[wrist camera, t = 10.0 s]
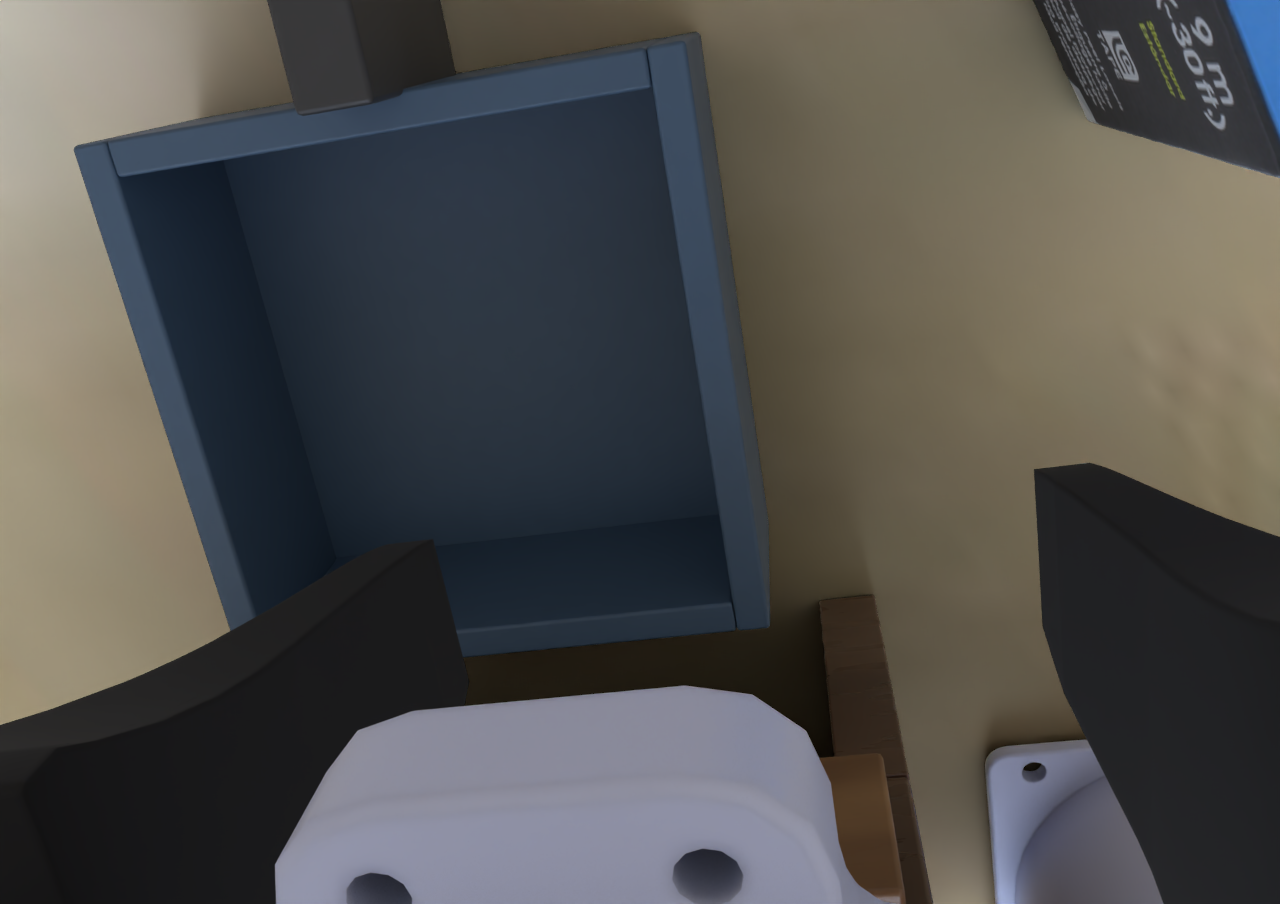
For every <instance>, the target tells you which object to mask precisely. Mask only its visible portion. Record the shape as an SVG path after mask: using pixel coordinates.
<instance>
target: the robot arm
mask: <svg viewBox="0 0 1280 904" xmlns="http://www.w3.org/2000/svg"><path fill="white" fill-rule="evenodd" d="M1034 478H1035V496H1036V515H1037V533H1038V551H1039V569H1040V587H1041V606H1042V624H1043V629H1044V632H1045V635H1046V639H1047V642H1048V645H1049V648H1050V652H1051V655H1052V658H1053V661H1054V664H1055V667H1056V670H1057V673H1058V676H1059V679H1060V682H1061V685H1062V688H1063V691H1064V694H1065V696H1066V698H1067V700H1068V702H1069V704H1070V706H1071V709H1072V711H1073V713H1074V715H1075V717H1076V719H1077V721H1078V723H1079V725H1080V727H1081V729H1082V731H1083V733H1084V735H1085V737H1086V739H1085V740H1072V741H1060V742H1048V743H1036V744H1024V745H1012V746H1004V747H1000V748H997V749H995V750H994V751H992V752H991V753H990V754H989V756H988V757H987V759H986V762H985V775H986V788H987V800H988V813H989V826H990V839H991V852H992V864H993V877H994V890H995V903H996V904H1280V537H1278V536H1275V535H1272V534H1269V533H1266V532H1263V531H1260V530H1258V529H1255V528H1252V527H1249V526H1246V525H1243V524H1241V523H1238V522H1235V521H1232V520H1229V519H1227V518H1224V517H1222V516H1219V515H1216V514H1214V513H1211V512H1209V511H1206V510H1204V509H1201V508H1199V507H1196V506H1194V505H1192V504H1189V503H1187V502H1185V501H1182V500H1180V499H1178V498H1175V497H1173V496H1171V495H1168V494H1166V493H1164V492H1161V491H1159V490H1157V489H1155V488H1152V487H1150V486H1148V485H1146V484H1143V483H1141V482H1139V481H1137V480H1134V479H1132V478H1130V477H1127V476H1125V475H1123V474H1120V473H1118V472H1116V471H1113V470H1111V469H1108V468H1105V467H1102V466H1099V465H1096V464H1092V463H1085V464H1077V465H1068V466H1059V467H1051V468H1042V469H1034ZM468 685H469V679H468V675H467V671H466V667H465V663H464V659H463V655H462V651H461V647H460V643H459V639H458V636H457V632H456V628H455V624H454V620H453V616H452V612H451V608H450V604H449V600H448V596H447V592H446V588H445V584H444V580H443V576H442V572H441V568H440V564H439V560H438V556H437V553H436V549H435V545H434V541H433V539H429V540H420V541H411V542H403V543H394V544H386V545H383V546H381V547H378V548H375V549H373V550H371V551H368V552H366V553H364V554H363V555H361V556H359V557H357V558H355V559H353V560H351V561H349V562H348V563H346V564H344V565H343V566H341V567H339V568H337V569H336V570H334V571H332V572H331V573H329V574H327V575H326V576H324V577H322V578H321V579H319V580H317V581H316V582H314V583H312V584H311V585H309V586H307V587H306V588H304V589H302V590H301V591H299V592H297V593H296V594H294V595H292V596H291V597H289V598H288V599H286V600H284V601H283V602H281V603H279V604H278V605H276V606H274V607H273V608H271V609H269V610H267V611H265V612H264V613H262V614H260V615H258V616H257V617H255V618H253V619H251V620H249V621H248V622H246V623H244V624H242V625H241V626H239V627H237V628H235V629H233V630H232V631H230V632H228V633H226V634H224V635H223V636H221V637H219V638H217V639H216V640H214V641H212V642H210V643H208V644H206V645H204V646H202V647H200V648H198V649H196V650H194V651H192V652H190V653H188V654H186V655H184V656H182V657H180V658H178V659H176V660H174V661H171V662H169V663H167V664H165V665H163V666H160V667H158V668H156V669H154V670H151V671H149V672H147V673H145V674H143V675H140V676H138V677H136V678H133V679H131V680H128V681H126V682H124V683H121V684H118V685H116V686H113V687H110V688H107V689H105V690H102V691H99V692H97V693H94V694H91V695H88V696H86V697H83V698H80V699H78V700H75V701H72V702H70V703H67V704H64V705H61V706H59V707H56V708H53V709H50V710H47V711H44V712H41V713H38V714H35V715H31V716H28V717H25V718H22V719H18V720H15V721H12V722H9V723H5V724H2V725H0V904H895V903H890V902H885V901H882V900H880V899H878V898H876V897H875V896H873V895H872V894H871V893H869V892H868V891H866V890H865V889H863V888H862V887H861V886H859V885H858V884H857V883H856V882H855V880H854V878H853V877H852V875H851V874H850V872H849V871H848V869H847V868H846V865H845V861H844V858H843V855H842V851H841V848H840V845H839V841H838V833H837V826H836V818H835V811H834V803H833V796H832V788H831V782H830V780H829V778H828V776H827V774H826V772H825V770H824V767H823V765H822V763H821V761H820V759H819V757H818V755H817V753H816V751H815V748H814V746H813V744H812V742H811V740H810V738H809V736H808V734H807V731H806V730H804V729H803V728H801V727H800V726H798V725H797V724H795V723H794V722H793V721H791V720H790V719H788V718H787V717H785V716H784V715H782V714H781V713H779V712H778V711H776V710H775V709H773V708H772V707H770V706H769V705H767V704H766V703H764V702H763V701H761V700H760V699H758V698H757V697H755V696H754V695H753V694H745V693H738V692H730V691H723V690H715V689H708V688H700V687H693V686H674V687H663V688H653V689H642V690H631V691H620V692H610V693H599V694H588V695H578V696H567V697H556V698H545V699H535V700H524V701H513V702H503V703H492V704H481V705H470V706H464V704H465V700H466V695H467V690H468ZM1033 762H1035V763H1040V764H1042V765H1041V766H1040V767H1039V768H1038V769H1037V770H1034V771H1024V770H1023V768H1024V767H1025V766H1026V765H1027V764H1029V763H1033Z"/></svg>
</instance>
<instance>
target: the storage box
mask: <svg viewBox="0 0 1280 904" xmlns="http://www.w3.org/2000/svg"><path fill="white" fill-rule="evenodd" d="M267 2H268V5H269V9H270V13H271V17H272V21H273V25H274V29H275V32H276V36H277V40H278V44H279V48H280V52H281V56H282V59H283V63H284V67H285V71H286V75H287V79H288V83H289V87H290V90H291V94H292V98H293V102H291V103H286V104H280V105H274V106H269V107H263V108H257V109H251V110H246V111H240V112H234V113H228V114H223V115H217V116H211V117H206V118H200V119H195V120H190V121H186V122H181V123H177V124H172V125H168V126H163V127H158V128H154V129H149V130H145V131H140V132H136V133H131V134H127V135H122V136H118V137H113V138H108V139H104V140H99V141H95V142H90V143H86V144H81V145H77V146H76V147H75V148H74V152H75V155H76V158H77V161H78V164H79V167H80V171H81V174H82V177H83V180H84V183H85V186H86V189H87V192H88V195H89V198H90V201H91V204H92V207H93V210H94V213H95V217H96V220H97V223H98V226H99V229H100V232H101V235H102V238H103V241H104V244H105V247H106V250H107V253H108V256H109V259H110V262H111V266H112V269H113V272H114V275H115V278H116V281H117V284H118V287H119V290H120V293H121V296H122V299H123V302H124V305H125V308H126V312H127V315H128V318H129V321H130V324H131V327H132V330H133V333H134V336H135V339H136V342H137V345H138V348H139V351H140V354H141V358H142V361H143V364H144V367H145V370H146V373H147V376H148V379H149V382H150V385H151V388H152V391H153V394H154V397H155V400H156V403H157V407H158V410H159V413H160V416H161V419H162V422H163V425H164V428H165V431H166V434H167V437H168V440H169V443H170V446H171V449H172V453H173V456H174V459H175V462H176V465H177V468H178V471H179V474H180V477H181V480H182V483H183V486H184V489H185V492H186V495H187V498H188V502H189V505H190V508H191V511H192V514H193V517H194V520H195V523H196V526H197V529H198V532H199V535H200V538H201V541H202V544H203V548H204V551H205V554H206V557H207V560H208V563H209V566H210V569H211V572H212V575H213V578H214V581H215V584H216V587H217V590H218V594H219V597H220V600H221V603H222V606H223V609H224V612H225V615H226V618H227V621H228V624H229V627H230V630H231V631H232V630H233V629H235V628H237V627H239V626H241V625H242V624H244V623H246V622H248V621H249V620H251V619H253V618H255V617H257V616H258V615H260V614H262V613H264V612H265V611H267V610H269V609H271V608H273V607H274V606H276V605H278V604H279V603H281V602H283V601H284V600H286V599H288V598H289V597H291V596H292V595H294V594H296V593H297V592H299V591H301V590H302V589H304V588H306V587H307V586H309V585H311V584H312V583H314V582H316V581H317V580H319V579H321V578H322V577H324V576H326V575H327V574H329V573H331V572H332V571H334V570H336V569H337V568H339V567H341V566H343V565H344V564H346V563H348V562H349V561H351V560H353V559H355V558H357V557H359V556H361V555H363V554H364V553H366V552H368V551H371V550H373V549H375V548H378V547H381V546H383V545H386V544H394V543H403V542H411V541H420V540H429V539H433V541H434V545H435V549H436V553H437V556H438V560H439V564H440V568H441V572H442V576H443V580H444V584H445V588H446V592H447V596H448V600H449V604H450V608H451V612H452V616H453V620H454V624H455V628H456V632H457V636H458V639H459V643H460V647H461V651H462V655H463V658H465V657H475V656H485V655H495V654H506V653H516V652H526V651H536V650H546V649H557V648H567V647H577V646H587V645H598V644H608V643H618V642H628V641H638V640H649V639H659V638H669V637H679V636H689V635H700V634H710V633H720V632H730V631H735V630H736V627H737V628H738V630H751V629H762V628H768V627H769V626H770V582H769V521H768V514H767V507H766V500H765V493H764V486H763V479H762V471H761V464H760V457H759V450H758V443H757V436H756V429H755V421H754V414H753V407H752V400H751V393H750V386H749V379H748V371H747V364H746V357H745V350H744V343H743V336H742V329H741V322H740V314H739V307H738V300H737V293H736V286H735V279H734V272H733V264H732V257H731V250H730V243H729V236H728V229H727V222H726V215H725V207H724V200H723V193H722V186H721V179H720V172H719V165H718V157H717V150H716V143H715V136H714V129H713V122H712V115H711V107H710V100H709V93H708V86H707V79H706V72H705V65H704V58H703V50H702V43H701V36H700V34H699V33H698V32H692V33H687V34H681V35H675V36H669V37H664V38H658V39H652V40H646V41H641V42H635V43H629V44H624V45H618V46H612V47H606V48H601V49H595V50H589V51H583V52H578V53H572V54H566V55H561V56H555V57H549V58H543V59H538V60H532V61H526V62H521V63H515V64H509V65H503V66H498V67H492V68H486V69H480V70H475V71H469V72H463V73H458V74H456V73H455V68H454V63H453V59H452V54H451V49H450V45H449V40H448V35H447V30H446V26H445V21H444V16H443V11H442V7H441V2H440V0H267Z"/></svg>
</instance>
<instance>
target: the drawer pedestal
mask: <svg viewBox="0 0 1280 904" xmlns="http://www.w3.org/2000/svg"><path fill="white" fill-rule="evenodd" d="M819 607H820V617H821V627H822V638H823V648H824V658H825V669H826V679H827V689H828V699H829V710H830V720H831V730H832V741H833V751H834V757H822V758H819V759H820V761H821V763H822V765H823V767H824V770H825V772H826V774H827V776H828V778H829V780H830V782H831V788H832V796H833V803H834V811H835V818H836V826H837V833H838V841H839V845H840V848H841V851H842V855H843V858H844V861H845V865H846V868H847V869H848V871H849V872H850V874H851V875H852V877H853V878H854V880H855V882H856V883H857V884H858V885H859V886H861V887H862V888H863V889H865V890H866V891H868V892H869V893H871V894H872V895H873V896H875V897H876V898H878V899H880V900H882V901H885V902H890V903H895V904H933V901H932V895H931V890H930V885H929V880H928V874H927V869H926V864H925V859H924V853H923V848H922V843H921V838H920V832H919V827H918V822H917V816H916V811H915V806H914V801H913V795H912V790H911V785H910V781H909V773H908V768H907V763H906V758H905V752H904V747H903V742H902V737H901V731H900V726H899V721H898V716H897V710H896V705H895V700H894V695H893V689H892V684H891V679H890V674H889V668H888V663H887V658H886V653H885V647H884V642H883V637H882V632H881V626H880V621H879V616H878V611H877V605H876V600H875V596H874V595H868V596H858V597H848V598H839V599H829V600H821V601H820V602H819Z"/></svg>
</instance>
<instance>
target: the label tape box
mask: <svg viewBox="0 0 1280 904" xmlns="http://www.w3.org/2000/svg"><path fill="white" fill-rule="evenodd" d="M1033 1H1034V3H1035V5H1036V8H1037V10H1038V12H1039V15H1040V17H1041V20H1042V22H1043V24H1044V26H1045V28H1046V30H1047V32H1048V35H1049V37H1050V40H1051V42H1052V44H1053V46H1054V48H1055V50H1056V53H1057V55H1058V58H1059V60H1060V62H1061V64H1062V67H1063V70H1064V71H1065V73H1066V75H1067V77H1068V79H1069V81H1070V83H1071V85H1072V87H1073V90H1074V92H1075V94H1076V96H1077V98H1078V101H1079V103H1080V105H1081V107H1082V109H1083V112H1084V114H1085V116H1086V119H1087V120H1088V121H1090V122H1093V123H1096V124H1099V125H1102V126H1106V127H1109V128H1113V129H1116V130H1119V131H1122V132H1126V133H1129V134H1133V135H1135V136H1140V137H1144V138H1147V139H1150V140H1152V141H1156V142H1160V143H1163V144H1166V145H1169V146H1172V147H1176V148H1181V149H1185V150H1188V151H1191V152H1194V153H1197V154H1200V155H1204V156H1207V157H1210V158H1214V159H1217V160H1221V161H1224V162H1226V163H1229V164H1233V165H1236V166H1240V167H1243V168H1247V169H1251V170H1254V171H1257V172H1261V173H1264V174H1266V175H1270V176H1274V177H1278V178H1280V0H1033Z"/></svg>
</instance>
